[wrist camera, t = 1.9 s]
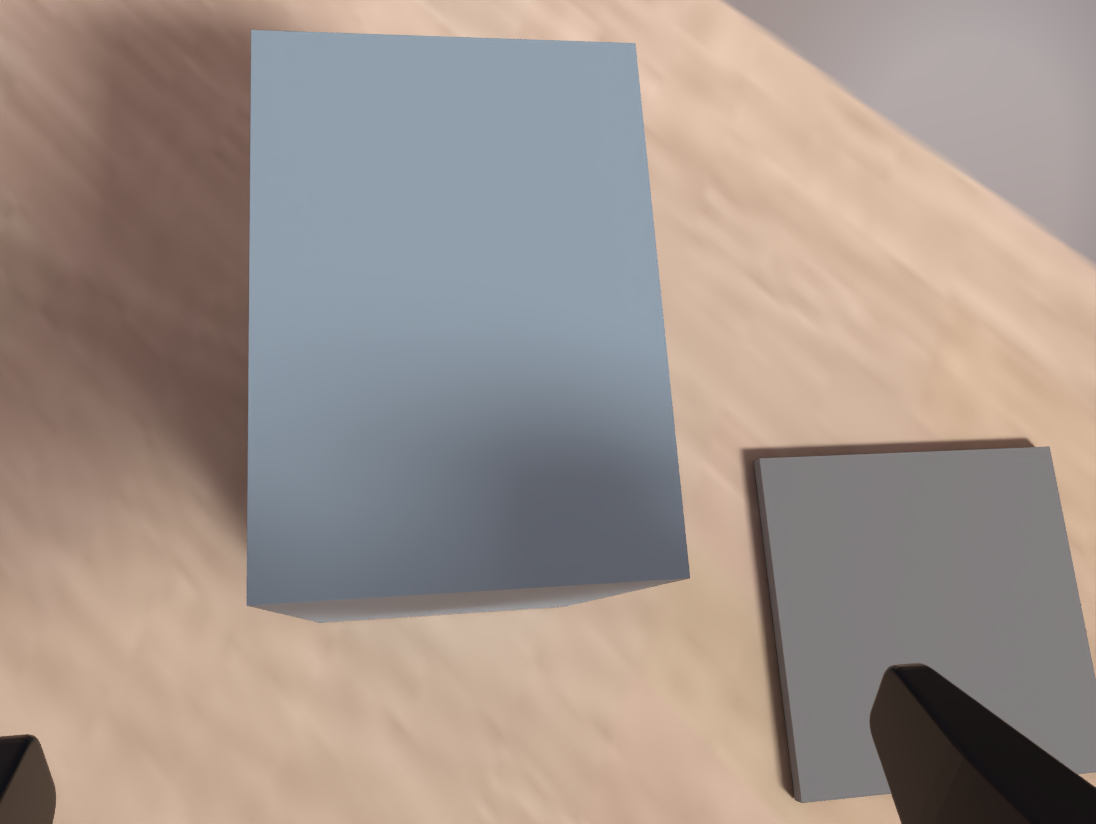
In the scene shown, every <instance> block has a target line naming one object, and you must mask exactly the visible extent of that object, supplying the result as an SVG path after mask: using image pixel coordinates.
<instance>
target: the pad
mask: <svg viewBox="0 0 1096 824" xmlns="http://www.w3.org/2000/svg"><path fill="white" fill-rule="evenodd" d="M754 468H755V476H756V485H757V493H758V501H759V509H760V517H761V526H762V534H763V542H764V550H765V559H766V567H767V575H768V583H769V591H770V600H771V608H772V616H773V624H774V633H775V641H776V649H777V657H778V665H779V674H780V682H781V690H782V698H783V707H784V715H785V723H786V731H787V739H788V748H789V756H790V764H791V772H792V781H793V789H794V797H795V800H796V801H798V802H801V803H806V802H816V801H825V800H835V799H844V798H854V797H864V796H873V795H883V794H891V791H890V788H889V786H888V783H887V780H886V777H885V774H884V771H883V768H882V765H881V762H880V759H879V756H878V753H877V750H876V747H875V744H874V741H873V738H872V735H871V731H870V724H869V718H870V711H871V708H872V705H873V703H874V700H875V697H876V694H877V691H878V688H879V685H880V683H881V680H882V677H883V674H884V672H885V670H886V669H887V668H888V667H890V666H892V665H897V664H909V663H922V664H925V665H927V666H929V667H931V668H932V669H934V670H935V671H936V672H938V673H939V674H941V675H942V676H943V677H945V678H946V679H947V680H949V681H950V682H952V683H953V684H954V685H956V686H957V687H958V688H960V689H961V690H963V691H964V692H965V693H967V694H968V695H969V696H971V697H972V698H974V699H975V700H976V701H978V702H979V703H980V704H982V705H983V706H985V707H986V708H987V709H989V710H990V711H991V712H993V713H994V714H996V715H997V716H998V717H1000V718H1001V719H1002V720H1004V721H1005V722H1006V723H1008V724H1009V725H1011V726H1012V727H1013V728H1015V729H1016V730H1017V731H1019V732H1020V733H1022V734H1023V735H1024V736H1026V737H1027V738H1028V739H1030V740H1031V741H1033V742H1034V743H1035V744H1037V745H1038V746H1039V747H1041V748H1042V749H1044V750H1045V751H1046V752H1048V753H1049V754H1050V755H1052V756H1053V757H1055V758H1056V759H1057V760H1059V761H1060V762H1061V763H1063V764H1064V765H1066V766H1067V767H1068V768H1070V769H1071V770H1072V771H1074V772H1075V773H1077V774H1084V773H1093V772H1096V679H1095V674H1094V669H1093V664H1092V659H1091V654H1090V649H1089V644H1088V638H1087V633H1086V628H1085V623H1084V618H1083V613H1082V608H1081V603H1080V598H1079V593H1078V588H1077V583H1076V578H1075V573H1074V568H1073V563H1072V558H1071V553H1070V548H1069V543H1068V538H1067V532H1066V527H1065V522H1064V517H1063V512H1062V507H1061V502H1060V497H1059V492H1058V487H1057V482H1056V477H1055V472H1054V467H1053V462H1052V457H1051V452H1050V447H1027V448H1003V449H978V450H953V451H929V452H904V453H879V454H854V455H830V456H805V457H780V458H759V459H757V460H755V461H754Z"/></svg>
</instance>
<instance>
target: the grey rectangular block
mask: <svg viewBox="0 0 1096 824" xmlns="http://www.w3.org/2000/svg"><path fill="white" fill-rule="evenodd" d="M689 578H690V573H689V563H688V554H687V544H686V534H685V524H684V515H683V505H682V495H681V485H680V475H679V466H678V456H677V446H676V436H675V427H674V417H673V407H672V397H671V387H670V378H669V368H668V358H667V348H666V338H665V329H664V319H663V309H662V299H661V290H660V280H659V270H658V260H657V250H656V241H655V231H654V221H653V211H652V202H651V192H650V182H649V172H648V162H647V153H646V143H645V133H644V123H643V113H642V104H641V94H640V84H639V74H638V65H637V55H636V45H635V43H613V42H584V41H556V40H527V39H498V38H469V37H441V36H412V35H383V34H355V33H326V32H297V31H269V30H251V121H250V246H249V370H248V495H247V606H251V607H255V608H259V609H263V610H268V611H272V612H276V613H280V614H285V615H289V616H293V617H297V618H301V619H306V620H310V621H314V622H318V623H324V622H339V621H355V620H370V619H385V618H401V617H416V616H431V615H446V614H462V613H477V612H492V611H508V610H523V609H538V608H554V607H565V606H570V605H574V604H579V603H583V602H587V601H592V600H596V599H601V598H605V597H609V596H614V595H618V594H623V593H627V592H631V591H636V590H640V589H645V588H649V587H653V586H658V585H662V584H667V583H671V582H675V581H680V580H684V579H689Z"/></svg>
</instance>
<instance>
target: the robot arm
mask: <svg viewBox="0 0 1096 824" xmlns="http://www.w3.org/2000/svg"><path fill="white" fill-rule="evenodd" d="M869 724H870V731H871V735H872V738H873V741H874V744H875V747H876V750H877V753H878V756H879V759H880V762H881V765H882V768H883V771H884V774H885V777H886V780H887V783H888V786H889V788H890V791H891V794H892V797H893V800H894V803H895V806H896V809H897V812H898V815H899V818H900V821H901V824H1096V787H1094V786H1093V785H1092V784H1090V783H1089V782H1087V781H1086V780H1085V779H1083V778H1082V777H1081V776H1079V775H1078V774H1077V773H1075V772H1074V771H1072V770H1071V769H1070V768H1068V767H1067V766H1066V765H1064V764H1063V763H1061V762H1060V761H1059V760H1057V759H1056V758H1055V757H1053V756H1052V755H1050V754H1049V753H1048V752H1046V751H1045V750H1044V749H1042V748H1041V747H1039V746H1038V745H1037V744H1035V743H1034V742H1033V741H1031V740H1030V739H1028V738H1027V737H1026V736H1024V735H1023V734H1022V733H1020V732H1019V731H1017V730H1016V729H1015V728H1013V727H1012V726H1011V725H1009V724H1008V723H1006V722H1005V721H1004V720H1002V719H1001V718H1000V717H998V716H997V715H996V714H994V713H993V712H991V711H990V710H989V709H987V708H986V707H985V706H983V705H982V704H980V703H979V702H978V701H976V700H975V699H974V698H972V697H971V696H969V695H968V694H967V693H965V692H964V691H963V690H961V689H960V688H958V687H957V686H956V685H954V684H953V683H952V682H950V681H949V680H947V679H946V678H945V677H943V676H942V675H941V674H939V673H938V672H936V671H935V670H934V669H932V668H931V667H929V666H927V665H925V664H922V663H909V664H897V665H892V666H890V667H888V668H887V669H886V670H885V672H884V674H883V677H882V680H881V683H880V685H879V688H878V691H877V694H876V697H875V700H874V703H873V705H872V708H871V711H870V718H869ZM55 807H56V791H55V785H54V782H53V779H52V776H51V773H50V770H49V767H48V764H47V761H46V759H45V756H44V753H43V750H42V747H41V744H40V742H39V740H38V739H37V738H36V737H35V736H33V735H28V734H26V735H14V736H1V737H0V824H53V819H54V814H55Z"/></svg>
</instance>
